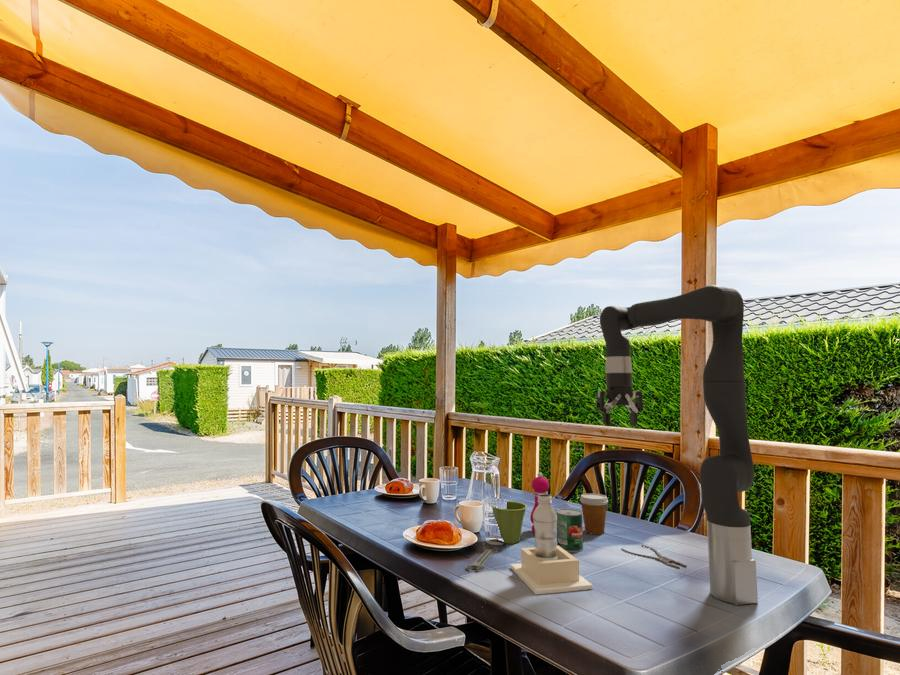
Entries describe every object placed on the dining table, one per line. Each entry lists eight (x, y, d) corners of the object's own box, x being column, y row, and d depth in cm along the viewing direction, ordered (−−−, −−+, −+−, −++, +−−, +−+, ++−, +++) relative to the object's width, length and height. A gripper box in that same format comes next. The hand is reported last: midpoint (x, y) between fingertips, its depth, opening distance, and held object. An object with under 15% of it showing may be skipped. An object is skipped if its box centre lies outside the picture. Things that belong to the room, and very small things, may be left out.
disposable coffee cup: (578, 527, 176) (578, 492, 177) (606, 528, 175) (605, 493, 176) (582, 535, 167) (581, 498, 168) (611, 536, 166) (610, 499, 167)
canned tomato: (560, 542, 159) (559, 507, 160) (585, 546, 156) (584, 510, 157) (554, 550, 152) (553, 513, 153) (580, 553, 149) (579, 516, 150)
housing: (592, 589, 123) (591, 563, 124) (535, 594, 120) (535, 568, 120) (561, 563, 140) (560, 541, 141) (510, 567, 137) (510, 545, 138)
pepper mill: (553, 535, 167) (552, 474, 169) (532, 534, 167) (531, 474, 169) (549, 528, 175) (548, 470, 176) (529, 528, 175) (528, 470, 177)
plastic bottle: (563, 573, 131) (562, 495, 133) (550, 580, 126) (548, 499, 128) (542, 567, 135) (541, 491, 137) (528, 574, 130) (527, 495, 132)
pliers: (637, 542, 158) (699, 560, 142) (637, 545, 158) (699, 563, 142) (618, 548, 152) (680, 567, 136) (618, 551, 152) (680, 571, 136)
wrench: (464, 571, 135) (464, 567, 135) (485, 549, 154) (485, 545, 154) (481, 573, 134) (481, 569, 134) (500, 550, 152) (500, 546, 152)
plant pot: (502, 548, 153) (501, 511, 155) (484, 537, 164) (484, 502, 165) (534, 543, 158) (534, 507, 159) (515, 533, 169) (514, 499, 170)
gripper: (603, 371, 146) (605, 427, 144) (647, 371, 149) (649, 426, 147) (591, 372, 153) (592, 425, 152) (632, 372, 156) (634, 424, 155)
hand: (620, 425), depth 149 cm, fingers open, 8 cm apart
